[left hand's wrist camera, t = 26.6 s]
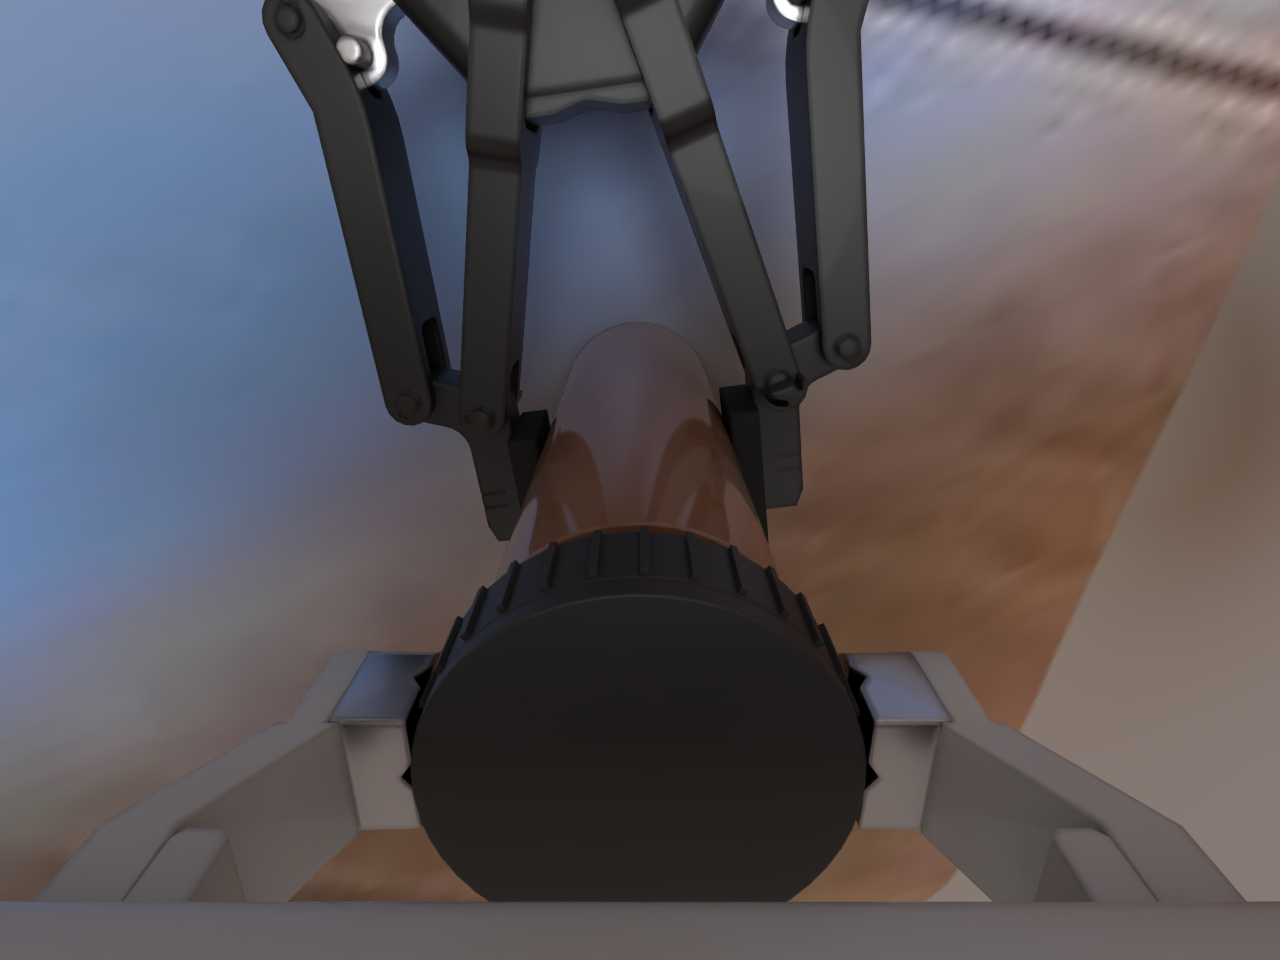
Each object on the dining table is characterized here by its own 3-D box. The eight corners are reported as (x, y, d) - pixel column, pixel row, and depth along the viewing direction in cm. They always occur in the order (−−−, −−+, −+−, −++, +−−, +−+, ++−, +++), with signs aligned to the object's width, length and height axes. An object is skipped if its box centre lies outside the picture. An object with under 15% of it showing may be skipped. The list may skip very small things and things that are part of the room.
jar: (672, 297, 25) (737, 508, 9) (729, 423, 27) (875, 798, 10) (542, 360, 26) (378, 663, 10) (607, 479, 28) (562, 907, 11)
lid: (899, 573, 10) (947, 645, 8) (769, 876, 12) (789, 977, 10) (469, 480, 9) (435, 539, 8) (415, 815, 11) (381, 913, 10)
